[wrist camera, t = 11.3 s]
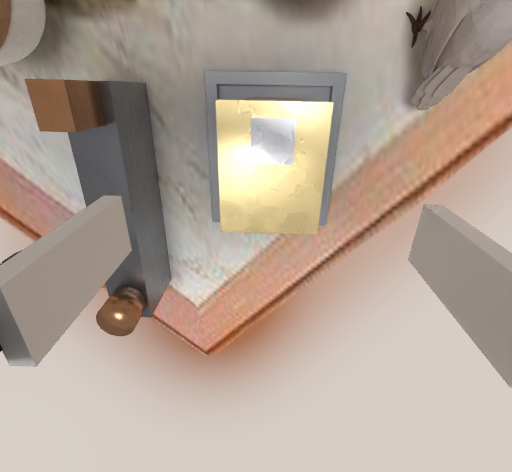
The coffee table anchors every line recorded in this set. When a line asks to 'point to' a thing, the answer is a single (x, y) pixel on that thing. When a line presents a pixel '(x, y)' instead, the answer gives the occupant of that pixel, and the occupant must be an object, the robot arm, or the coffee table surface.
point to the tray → (273, 88)
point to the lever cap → (272, 164)
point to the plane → (114, 181)
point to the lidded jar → (20, 28)
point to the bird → (458, 43)
